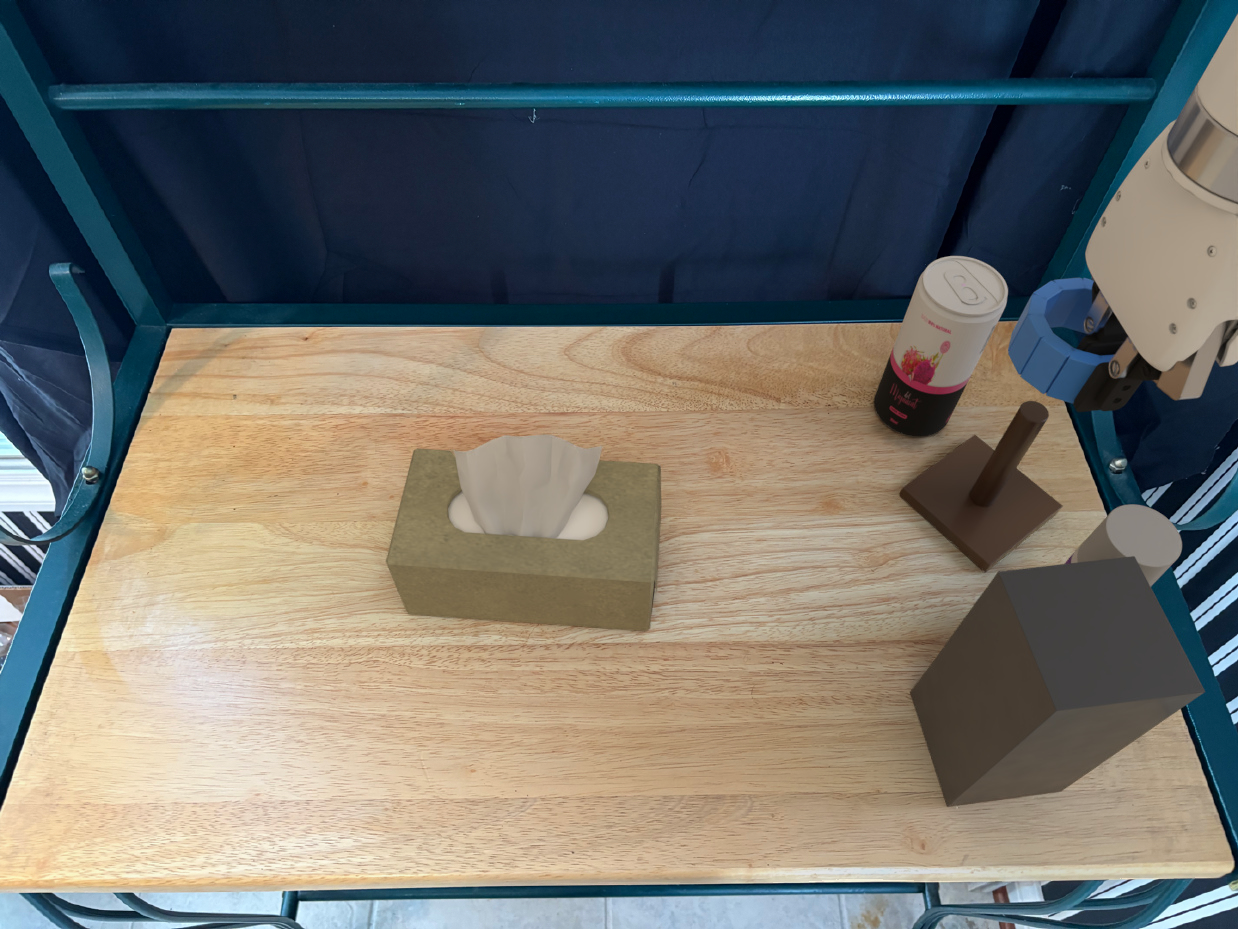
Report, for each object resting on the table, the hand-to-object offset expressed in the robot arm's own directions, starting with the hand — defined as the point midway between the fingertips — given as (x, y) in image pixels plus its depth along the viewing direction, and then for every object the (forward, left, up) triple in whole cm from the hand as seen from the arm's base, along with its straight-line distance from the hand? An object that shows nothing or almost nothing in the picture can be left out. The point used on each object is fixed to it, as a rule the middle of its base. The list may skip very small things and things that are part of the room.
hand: (1090, 392), depth 58 cm
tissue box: (+20, +30, -18) cm, 41 cm away
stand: (+3, -2, -18) cm, 18 cm away
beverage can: (+13, -5, -18) cm, 23 cm away
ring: (+3, -2, 0) cm, 3 cm away
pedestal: (-10, +13, -18) cm, 25 cm away
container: (-8, +4, -18) cm, 20 cm away
